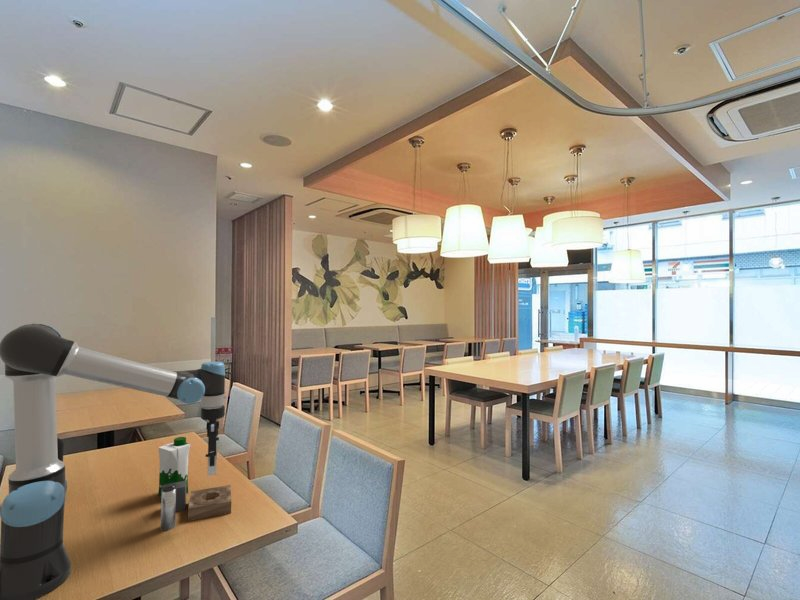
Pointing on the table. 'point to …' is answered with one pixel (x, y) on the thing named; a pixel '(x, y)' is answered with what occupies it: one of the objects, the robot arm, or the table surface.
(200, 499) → the socket block
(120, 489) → the table surface
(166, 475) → the milk carton
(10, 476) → the robot arm
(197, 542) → the table surface
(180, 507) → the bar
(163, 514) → the rod
